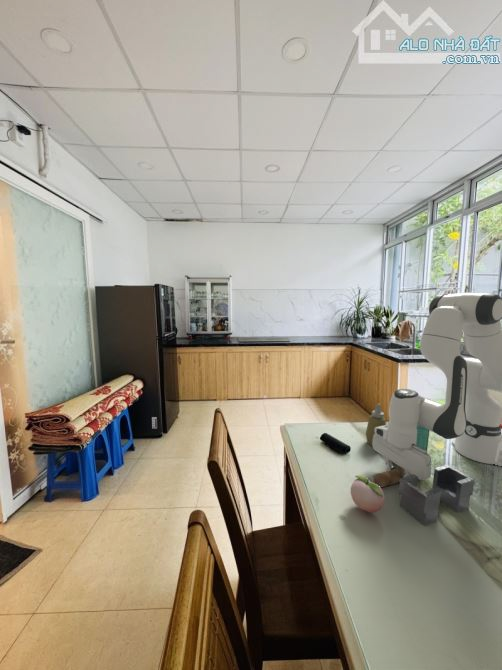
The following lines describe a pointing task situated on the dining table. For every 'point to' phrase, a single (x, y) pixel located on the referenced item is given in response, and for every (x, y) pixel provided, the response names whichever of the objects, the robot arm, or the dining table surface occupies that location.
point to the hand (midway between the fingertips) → (397, 475)
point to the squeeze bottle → (374, 423)
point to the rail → (389, 477)
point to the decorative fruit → (367, 494)
